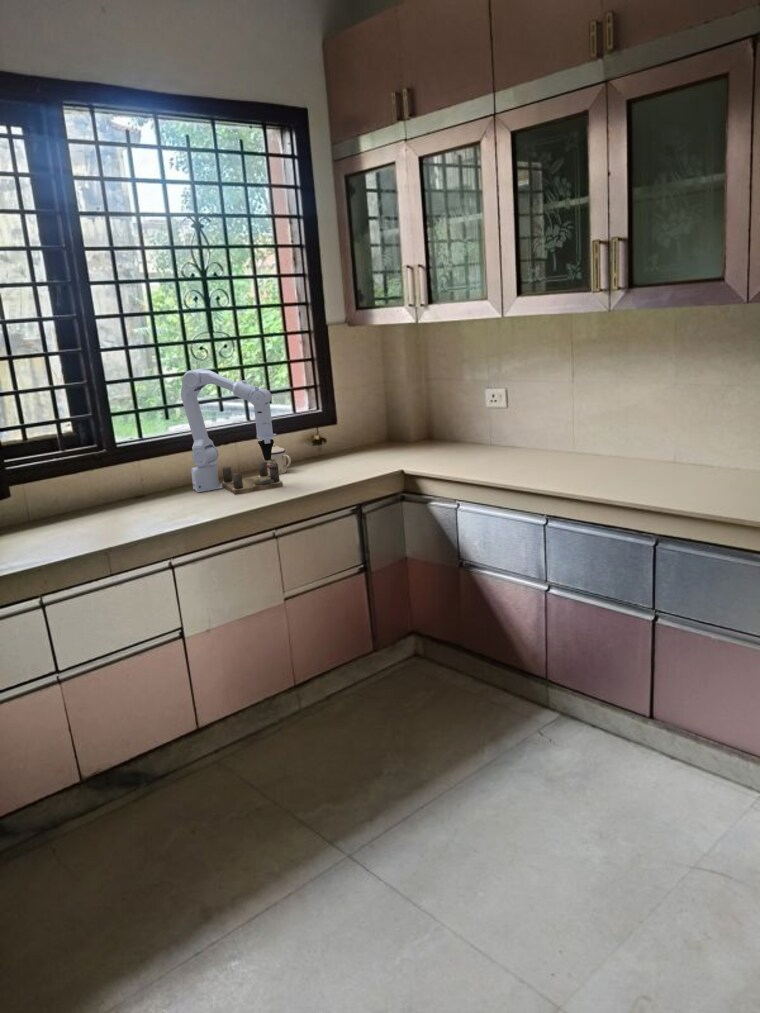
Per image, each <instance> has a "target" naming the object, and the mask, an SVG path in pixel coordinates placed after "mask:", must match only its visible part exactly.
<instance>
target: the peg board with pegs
mask: <svg viewBox="0 0 760 1013" xmlns="http://www.w3.org/2000/svg"><path fill="white" fill-rule="evenodd" d="M257 465H258V473H259V475H256V476H250V477H244V478H242V477H243V475H242V474H243V473H242V472H234V473H232V467H231V466H225V467H222V469H221V470H222V478H223V481H221V486H222V487H223V488H225V489H226V490H228V491H229V492H231V493H232V494H233V495H243V494H247V493H252V492H259V491H265V490H270V489H271V490H272V489H277V488H282V487H284V484H283V483H284V482H283V481H282V480H280V481H277V482H271V483H265V484H260V485H255V484H254V479H260V480H264V479H270V475H268V469H267V462H266V461H264V460H263V461H259V462H258V464H257Z"/></svg>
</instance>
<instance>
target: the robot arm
mask: <svg viewBox="0 0 760 1013" xmlns="http://www.w3.org/2000/svg"><path fill="white" fill-rule="evenodd" d="M180 380H181V388H180V389H181V390H180V398H181V401H182V403H183V404H182V405H183V408H184V411H185V415H186V418H187V422H188V425H189V428H190V432H191V436H192V439H193V444H192V447H191V448H192V461H193V463H194V465H196V466H195V467H191V469H190V472H191V479H192V480H191V481H192V489H193V490H194V491H196V492H197V493H202V492H208V491H214V490H220V489H224V487H223V486H222V485H221V484H220V479H219V471H218V463H217V460H218V458H219V455H220V454H219V450H218V449H217V448H216V446H215V445H214V441H213V440H212V439H210V438H209V434H208V431H207V427H206V424H205V421H204V417H203V412H202V410H201V406H200V403H199V399H198V395H199V394H200V392H201V390H202V389H203V388H205V387H206V386H207V385H214V386H217V387H221V389H226V390H228V391H231V392H232V393H233V395H234V397H237V398H239V399H242V400H245V401H247V402H249V403H251V404H252V405H253V409H254V418H255V419H254V420H255V429H256V439H259V440H258V441H257V444H258V445H259V447H260V449H261V452H262V456H263V461H264V460H265V461H268V460H271V453H272V447H273V444H275V441H274V439H272V438H274V437H277V433H274V432H273V423H272V422H273V420H272V412H271V403H270V402H271V401H272V396H273V395H272V393H271V391H269V390H268V389H267V388H266V387H261V388H259V385H252V384H251V383H250V384H249V383H248V381H247V380H238V381H234V380H231V379H230V378H227V377H225V376H223V375H221V374H218V373H216V372H214V371H212V370H210V369H206V368H197V369H193V370H188V371H186V372H184V374H183V375H182V377H181V378H180Z"/></svg>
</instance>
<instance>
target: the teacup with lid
mask: <svg viewBox="0 0 760 1013" xmlns="http://www.w3.org/2000/svg"><path fill="white" fill-rule="evenodd" d="M286 458H287V459H286ZM287 460H288V462H287ZM263 461H265V460H264V459H263ZM266 462H267V469H268V475H270V469H269V466H271V465H278V470H279V475H283V474H285V473H287V470H288V467H289V466H291V463H292V459H291V457H290V456H289V455H288V454H286V449H285V448H284V447H280V446H278V445H277V444H276V443H274V444H273V447H272V453H271V460H268V461H266Z"/></svg>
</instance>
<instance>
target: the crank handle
mask: <svg viewBox="0 0 760 1013" xmlns="http://www.w3.org/2000/svg"><path fill="white" fill-rule="evenodd" d="M269 469H270V479H264V480H260V479H254V484H255V485H260V484H265V483H271V482H277V481H281V479H280V474H279V470H278V465H271V466H269Z"/></svg>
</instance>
